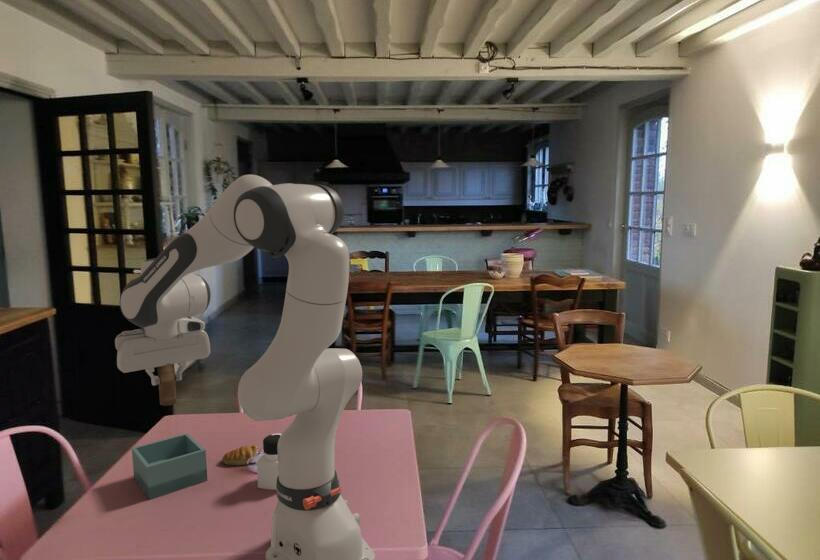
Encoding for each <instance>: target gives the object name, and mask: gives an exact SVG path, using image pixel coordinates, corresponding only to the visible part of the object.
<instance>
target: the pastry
mask: <svg viewBox="0 0 820 560" xmlns="http://www.w3.org/2000/svg"><path fill="white" fill-rule="evenodd" d="M257 452H259V450H258V446H257V445H256V444H253V445H245V446H244V445H242V446H240V447H239V448H238V447H237V448H236V449H232V450H231V451H228V452H225V454H224V455H223V456H222V459H221V461H222V463H224V464H225V465H228V466H231V465H232V466H243V465H248V464H247V461H248V459H249V458H251V457H253V456H254V455H256V454H257Z"/></svg>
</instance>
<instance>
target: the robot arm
mask: <svg viewBox="0 0 820 560" xmlns="http://www.w3.org/2000/svg"><path fill="white" fill-rule="evenodd" d="M344 211H345V210H344V204H343V201H342V198H341V197H340V196H339V194H338V193H337V191H336V190H334V189H333V188H331V187H329V186H326V185H323V184H319V183H308V184H304V183H292V182H291V183H290V182H289V183H288V182H287V183H278V184H272V183H271V182H270V180H267V179H266V178H264V177H263V176H259V175H256V174H244V175H241V176H239V177H237V178H236V179H235V180H234V181H233V182H231V183H230V184H229V185H228V186H227V187H226V188H225V189H224V191H223V192H222V193H221V194H220V195H219V196H218V197H217V199H216V200H215V201H214V203H213V204H212V206H211V207H210V208H209V210H208V211H207V212H206V213H205V214H204V215H203V217H201V218H200V219H199V220H198V221H197V222H196V223H194V225H193V226H191V227H190V228H189V229H187V230H186V231H185V232H183V233H181V234H180V235H179V236H177V237H176V238H175V239H173V240H171V242H170V243H168V245H167V246H166V247H165V248H164V249H163V250H162V251H161V252H160V253H159V255H158V256H157V257H156V258H155V257H154V258H149V259H146V260H144V261H143V262H142V263H141V266H140V274H139V276H138V277H137V278H134V279H131V280H129V282H127V284H126V285H125V287H124V288H123V289H122V291H121V293H120V296H119V308H120V312H121V314H122V316H123V317H124V319H126V320H127V321H128V322H130V323H131V324H133V325H135V326H137V327H139V328H138V329H133V330H125V331H124V330H123V331H122V332H121V333H119V334H118V335H116V337H115V339H114V346H115V347H114V348H115V349H116V350H117V352H116V353H117V354H116V366H117V369H118V370H119V371H120V372H122V373H123V374H125V373H130V372H137V371H142V370H145V371H144V372H146V374H147V375H148V376H149V377H150V380H151V382H150V383H151V385H152V386H153V387H154V386H159V384H160V382H159V381H160V377H158V375H154V372H155V368H158V367H159V366H164V365H166V364H167V363H170V364H174V365H176V364H177V365H178V368H177V370H176V371H175V382H178V381H182V380H183V372H184V371H185V369H186V367H187V362H190V361H192V362H193V361H196V360H201V359H206V358H208V357H209V356H210V354H211V343H210V339H209V338H210V337H209V335H208V333H207V331H205V329H206V323H205V322H204V321H203V320H201V319H200V318H198V317H195V316H198V315H200V314H203V313H204V312H206V311H207V309H208V308H209V306H210V303H211V298H212V297H211V288H210V285H209V284H208V282H207V281H206V279H205V278H204V277H202V276H201V275H199V274H194V273H193V272H196V271H200V270H203V269H206V268H211V267H216V266H219V265H225V264H230V263H234V262H236V261H239V260H240V259H243V257H245V256H247V255H248V254H249V253H250V252H252V250H253V249H254V248H255V249H258V250H261V251H263V252H265V254H267V256H269V257H271V258H275V259H277V258H281V257H283V256H285V258H286V259H287V263H288V275H287V281H286V288H285V294H284V295H285V297H284V302H283V310H282V314H281V319H280V323H279V327H278V329H277V332H276V334H275V336H274V338H273V339H272V341H271V344H269V346H268V347H267V349H266V350H265V352H264V353H263V354H262V356H261V357H260V358H259V359H258V360H257V361H256V362H255V363H254V364H253V365H251V366H250V367H249V368H248V369H247V370H246V371H245V372H244V373H243V374H242V375H241V378H240V380H239V383H238V388H237V399H238V403H239V406H240V407H241V409H242V411H243V412H244V413H245V414H246V415H247V416H248V417H249V418H250V419H252V420H253V421H255V422H262V421H274V420H283V419H285V418H288V417H291V416H294V415H295V417H294V418H293V420H292V421H291V423H289V425H288V426H287V427H286V428H285V429H284V431H282V433H280V434H281V436H280V438H279V441H278V445H277V452H278V473H279V475H278V477H277V483H276V490H275V491H276V497H277V503H276V506H275V509H274V510H273V513H272V515H271V531H270V532H271V534H270V535H271V537H270V538H271V539H270V546H269V548H268V549H267V550H266V551H265V552H266V553H265V556H264V557H265V560H376V553H375V552H374V551H373V549H372V548H371V547H370V545H369V544H368V543H367V541H365V539H364V537H362V531H361V527H360V526H359V525H360V524H361V517H360V514H359V513H358V512H355V513H352V511H351V510H350V508H349V502H348V500H347V499H344V498H343V496H342V494H341V493H342V492H343V490H341V489H342V488H343V487H342V486H340V479H339V477H338V473H337V471H336V469H335V449H336V447H335V446H336V445H335V444H336V443H335V442H336V434H337V430H338V426H339V423H340V420H341V418H342V417H341V416H342V415H343V412H344V410H345V408H346V406H347V404H348V402H349V401H350V399H351V398H352V396H353V395H354V394H356V392H357V391H358V389H359V388H360V387H361V384H362V381H363V369H362V364H361V363H360V362H361V361H360V359H359V358H358V357H357V356H356V354H355V353H354V352H353V351H351V350H350V349H347V348H338V347H337V348H336V347H335V348H330V346H332V344H333V343H335V342H336V340H337V339H338V338H339V336H340V334H341V331H342V326H343V321H344V315H345V308H346V301H347V297H348V292H349V291H348V290H349V289H348V288H349V280H350V253H349V248H348V246H347V244H346V243H345V242H344V240H342V239H341V238H340V237H339V236H336V235H335V234H334V233H336V232H337V230H339V228H340V227H341V225H342V223H343V220H344V214H345V212H344Z"/></svg>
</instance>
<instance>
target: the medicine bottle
mask: <svg viewBox="0 0 820 560" xmlns="http://www.w3.org/2000/svg"><path fill="white" fill-rule="evenodd" d="M281 434H282V433H271V434H269V435H267V436H265V437H264V438H263V440H262V445H263V446H262V448H263V449H262V450H263V455H261V456H260V458H258V461H257V463H256V472H257V474H256V475H257V488H258V489H261V490H270V491H271V490H272V491H276V483H277V477H278V475H279V473H278V452H277V445H278V441H279V438H280V436H281Z"/></svg>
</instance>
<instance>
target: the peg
mask: <svg viewBox="0 0 820 560" xmlns="http://www.w3.org/2000/svg"><path fill="white" fill-rule="evenodd" d="M175 369H176V368H175V364H170V363H167V364H166V365H164V366H159V367H157V376H158V377H160V381H159V382H160V384H159V385H158V392H159V404H160V406H164V407H165V406H166V407H167V406H171V405H175V404H176V403H177V389H176V381H175V372H176V371H175Z"/></svg>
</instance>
